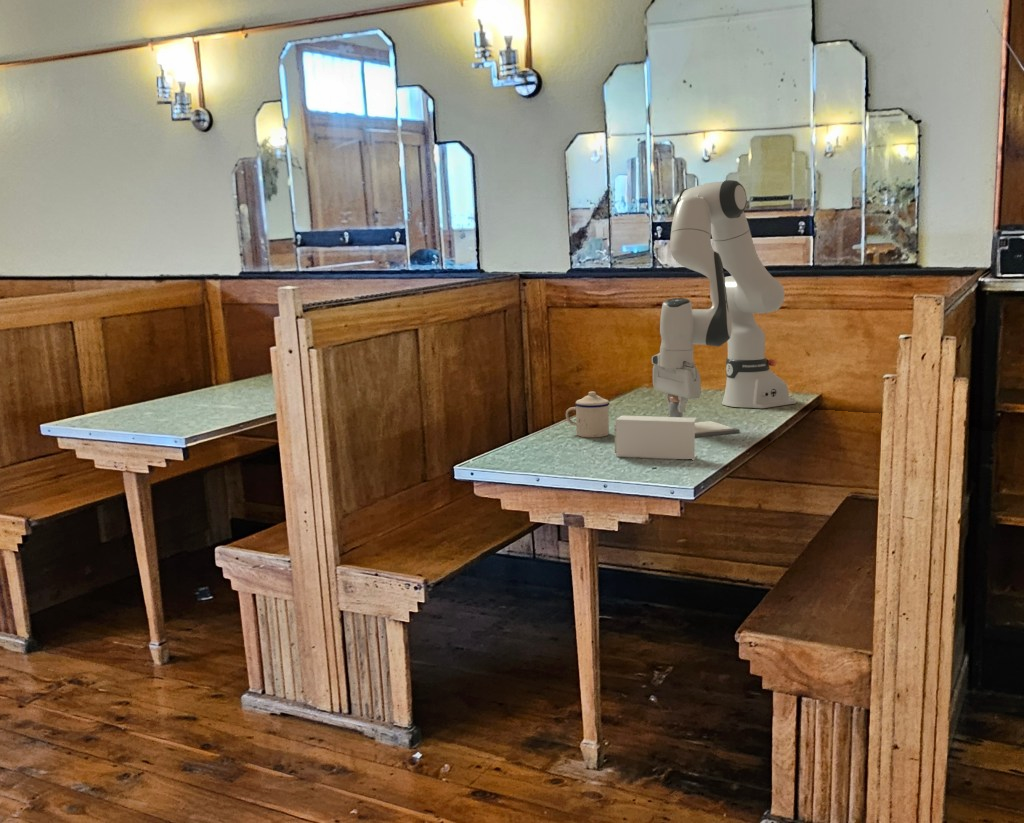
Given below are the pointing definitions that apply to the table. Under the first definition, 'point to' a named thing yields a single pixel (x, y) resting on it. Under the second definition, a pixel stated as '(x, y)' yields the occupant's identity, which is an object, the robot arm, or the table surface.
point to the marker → (674, 407)
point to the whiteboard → (713, 429)
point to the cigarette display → (655, 437)
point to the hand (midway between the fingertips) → (676, 410)
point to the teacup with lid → (591, 416)
